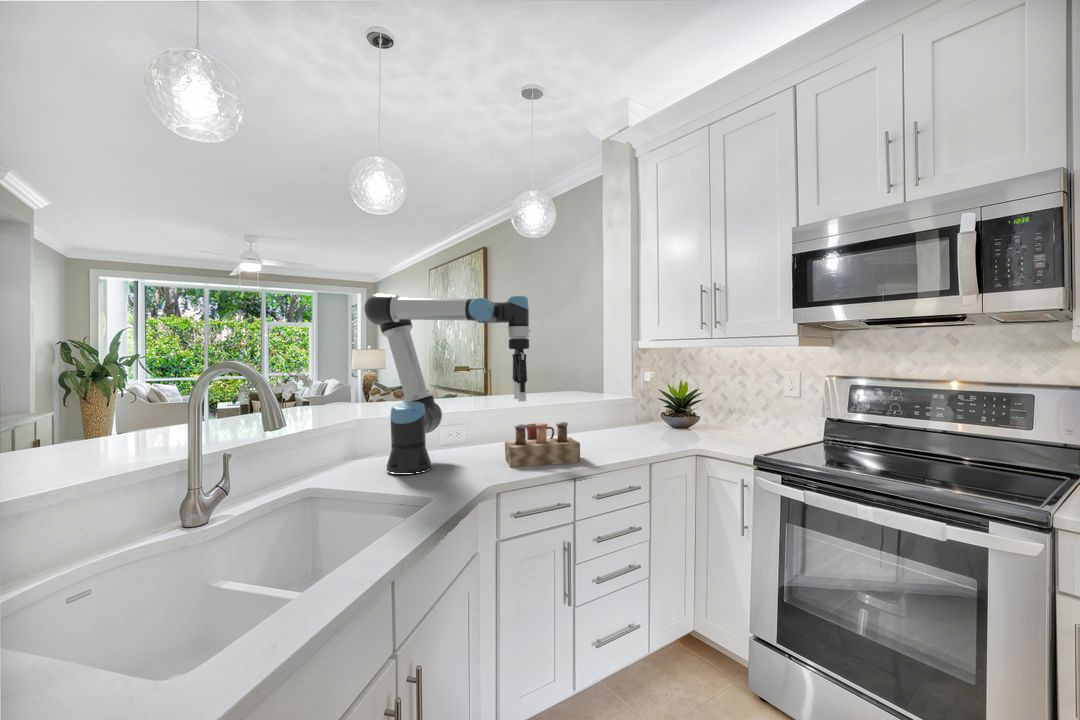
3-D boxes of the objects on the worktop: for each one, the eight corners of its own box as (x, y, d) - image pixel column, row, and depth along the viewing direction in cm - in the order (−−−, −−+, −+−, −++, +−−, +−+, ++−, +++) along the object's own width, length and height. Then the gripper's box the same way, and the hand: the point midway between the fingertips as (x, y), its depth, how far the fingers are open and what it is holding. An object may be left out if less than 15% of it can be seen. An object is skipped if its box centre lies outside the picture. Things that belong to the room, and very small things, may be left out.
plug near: (516, 450, 171) (515, 426, 170) (513, 448, 175) (513, 424, 175) (527, 449, 172) (527, 425, 171) (525, 447, 176) (525, 424, 176)
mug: (524, 451, 192) (524, 426, 192) (527, 447, 200) (526, 423, 200) (553, 451, 191) (553, 426, 190) (555, 447, 199) (554, 423, 199)
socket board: (510, 467, 166) (510, 447, 166) (505, 459, 178) (504, 441, 178) (580, 462, 172) (579, 443, 172) (570, 455, 184) (570, 437, 184)
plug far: (558, 447, 174) (558, 424, 174) (555, 445, 179) (554, 422, 178) (569, 447, 175) (569, 423, 175) (566, 444, 180) (566, 421, 179)
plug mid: (537, 449, 172) (537, 425, 172) (534, 446, 177) (534, 423, 177) (549, 448, 173) (548, 424, 173) (546, 446, 178) (545, 423, 178)
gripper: (535, 337, 163) (536, 402, 164) (523, 339, 183) (524, 397, 184) (513, 337, 162) (515, 403, 162) (504, 339, 182) (505, 397, 182)
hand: (519, 399), depth 173 cm, fingers open, 8 cm apart
